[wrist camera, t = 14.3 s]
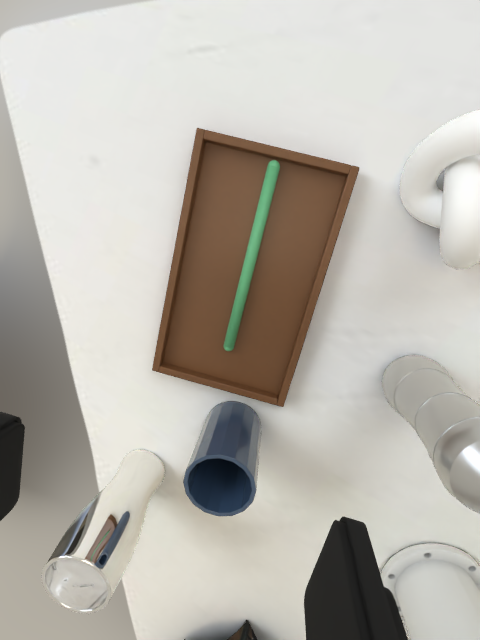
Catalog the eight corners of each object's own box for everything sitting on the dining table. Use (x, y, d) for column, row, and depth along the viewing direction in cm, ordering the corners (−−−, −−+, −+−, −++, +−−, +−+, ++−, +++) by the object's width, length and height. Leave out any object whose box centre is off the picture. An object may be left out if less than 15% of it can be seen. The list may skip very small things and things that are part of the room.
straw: (232, 354, 36) (278, 199, 24) (221, 352, 36) (262, 195, 24) (242, 301, 43) (281, 160, 31) (233, 299, 43) (269, 157, 31)
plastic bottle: (395, 413, 37) (520, 605, 18) (364, 366, 36) (463, 516, 17) (449, 386, 36) (650, 564, 16) (419, 337, 35) (595, 463, 15)
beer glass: (176, 461, 42) (124, 577, 28) (157, 498, 44) (98, 626, 30) (128, 437, 42) (50, 542, 28) (111, 476, 44) (30, 593, 30)
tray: (355, 170, 31) (359, 167, 30) (282, 400, 38) (283, 407, 37) (200, 133, 32) (196, 127, 30) (157, 364, 39) (151, 370, 37)
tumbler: (267, 409, 39) (263, 467, 29) (253, 456, 41) (245, 524, 31) (212, 394, 39) (191, 446, 30) (201, 441, 41) (177, 504, 31)
